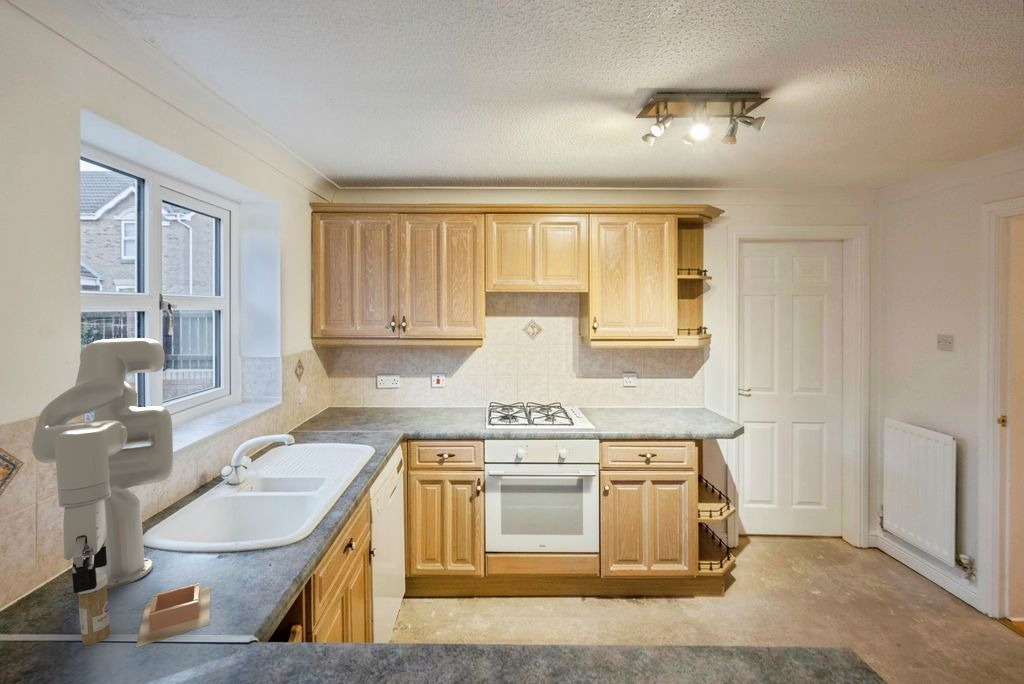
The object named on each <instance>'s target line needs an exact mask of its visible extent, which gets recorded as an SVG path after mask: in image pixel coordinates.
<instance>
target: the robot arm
mask: <svg viewBox="0 0 1024 684" xmlns="http://www.w3.org/2000/svg"><path fill="white" fill-rule="evenodd" d="M165 353H166V352H165V351H164V347H163V345H162V344H161V343H160V341H158V340H156V339H155V340H154V339H151V338H145V337H144V338H142V337H141V338H136V337H135V338H109V339H107V338H106V339H99V340H95V341H92V342H90V343H88V344H87V345H86V346H85V347H84V348H82V350H80V352H79V360H80V361H79V362H80V363H79V367H78V372H77V376H76V379H75V385H74V386H72V387H70V388H69V389H67V390H65V391H64V392H62V393H61V394H60V395H58V396H57V397H55V398H54V399H53V400H52V401H50V402H49V403H47V405H46V406H45V407H44V408H43V409H42V411H40V414H39V415H38V417H37V418H38V419H37V422H36V425H35V429H34V433H33V438H32V443H31V452H32V454H33V456H34V458H35V459H36V460H37V461H38V462H41V463H44V464H55V468H56V469H55V470H56V481H57V495H58V506H59V507H60V508H64V512H63V531H62V532H63V559H64V560H65V561H70V560H71V559H72V560H73V561H72V568H71V569H72V572H71V573H72V576H71V577H72V588H73V593H74V594H78V593H79V592H83V591H87V590H91V589H95V588H96V586H97V580H96V573H106V575H107V586H106V587H107V590H109V589H113V588H116V587H121V586H124V585H128V584H130V583H133V582H136V581H138V580H140V579H141V578H143V577H145V576H146V575H147V574H149V573H150V572H151V571H152V569H153V567H154V566H153V563H154V562H153V560H152V559H150V558H145V550H144V549H145V546H144V534H143V533H144V532H143V521H142V505H141V501H140V499H139V498H138V496H137V494H135V493H134V492H133V491H131V490H130V489H131V488H133V487H140V486H145V485H153V484H157V483H162V482H164V481H166V480H168V479H169V478H170V477H171V476H172V473H173V467H174V451H173V450H174V446H173V438H174V437H173V421H172V417H171V416H172V415H171V414H170V411H169V410H168V409H167V408H165V407H163V406H156V405H153V406H145V407H144V406H143V407H138V393H137V391H136V390H135V388H134V387H132V386H131V384H130V383H128V382H127V381H126V375H128V374H129V375H130V374H131V375H132V374H141V373H143V374H145V373H157V372H159V371H161V370H162V368H163V367H164V365H165V360H166V355H165ZM91 412H93V420H92V421H82V422H81V421H80V422H72V423H71V422H70V421H72V420H75V418H77V417H80V416H83V415H85V414H88V413H91ZM68 422H70V423H68ZM145 444H149V445H145ZM137 445H139V446H138V447H137ZM140 445H145V446H140ZM129 446H136V447H129ZM124 447H129V448H124Z"/></svg>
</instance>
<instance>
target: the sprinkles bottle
mask: <svg viewBox="0 0 1024 684" xmlns="http://www.w3.org/2000/svg"><path fill="white" fill-rule="evenodd" d="M96 580H97V586H96V588H95V589H91V590H87V591H83V592H79V593H77V595H78V614H79V627H80V634H81V641H82V644H83V645H85V646H88V645H90V646H91V645H94V644H97V643H100V642H102V641H103V640H105V639H107V638H108V637H109V636H110V635H111V625H110V624H111V620H110V607H109V600H108V589H107V587H106V586H107V575H106V573H96Z"/></svg>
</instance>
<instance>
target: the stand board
mask: <svg viewBox="0 0 1024 684" xmlns="http://www.w3.org/2000/svg"><path fill="white" fill-rule="evenodd" d="M151 605H152V601H151V602H148V603H145V607H144V611H143V615H142V619H141V624H140V627H139V632H138V635H137V639H136V643H135V648H138V647H142V646H145V645H148V644H152V643H155V642H160V641H162V640H165V639H168V638H169V639H170V638H171V637H175V636H179V635H180V634H184V633H188V632H191V631H194V630H197V629H200V628H201V629H202V628H204V627H207V626H208V627H209V626H210V624H211V623H210V622H211V621H210V620H211V619H210V615H211V610H210V609H211V586H205V587H203V588H200V609H199V618H196V619H193V620H189V621H186V622H182V623H179V624H176V625H172V626H169V627H166V628H162V629H159V630H155V631H152V632H150V620H149V614H150V609H151Z"/></svg>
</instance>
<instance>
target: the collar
mask: <svg viewBox="0 0 1024 684" xmlns="http://www.w3.org/2000/svg"><path fill="white" fill-rule="evenodd" d="M200 589H201V588H200V582H197V583H193V584H190V585H185V586H181V587H177V588H174V589H171V590H167V591H162V592H159V593H155V594H153V596H152V601H151V602H152V605H151V609H150V614H149V620H150V632H152V631H155V630H159V629H162V628H166V627H169V626H172V625H176V624H179V623H182V622H186V621H189V620H193V619H196V618H199V609H200Z"/></svg>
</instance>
